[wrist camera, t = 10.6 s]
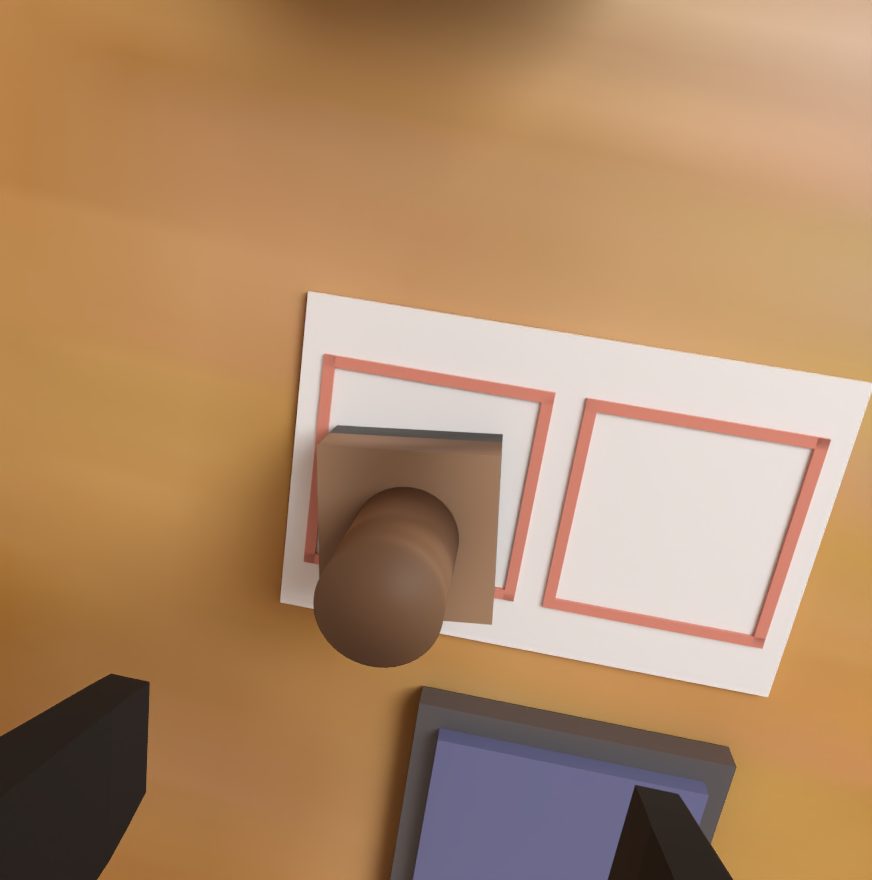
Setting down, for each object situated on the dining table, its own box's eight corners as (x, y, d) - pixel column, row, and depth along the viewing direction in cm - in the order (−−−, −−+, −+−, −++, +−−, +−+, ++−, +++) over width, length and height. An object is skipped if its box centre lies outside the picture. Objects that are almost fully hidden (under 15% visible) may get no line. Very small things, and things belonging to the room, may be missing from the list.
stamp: (502, 434, 19) (496, 511, 13) (494, 587, 20) (485, 716, 14) (337, 425, 19) (264, 496, 14) (338, 575, 20) (273, 696, 15)
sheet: (870, 382, 17) (876, 385, 17) (765, 693, 20) (769, 699, 20) (310, 290, 18) (307, 291, 18) (282, 598, 21) (278, 603, 21)
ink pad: (728, 747, 21) (741, 780, 19) (655, 971, 23) (662, 1013, 22) (422, 686, 21) (416, 714, 20) (385, 911, 24) (378, 948, 23)
